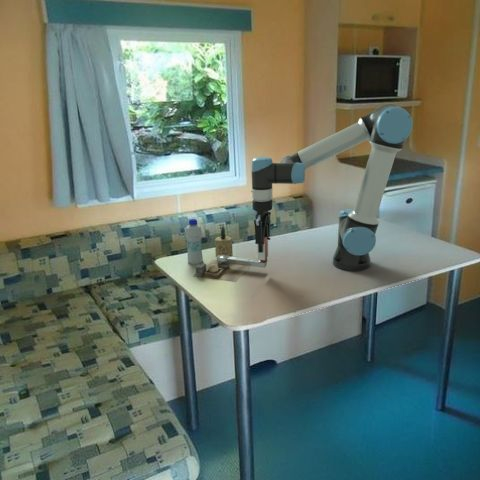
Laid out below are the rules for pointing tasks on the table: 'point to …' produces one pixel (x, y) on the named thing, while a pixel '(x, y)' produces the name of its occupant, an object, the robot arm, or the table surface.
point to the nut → (213, 268)
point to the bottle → (194, 242)
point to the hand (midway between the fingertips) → (263, 257)
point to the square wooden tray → (221, 271)
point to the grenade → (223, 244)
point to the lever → (244, 259)
